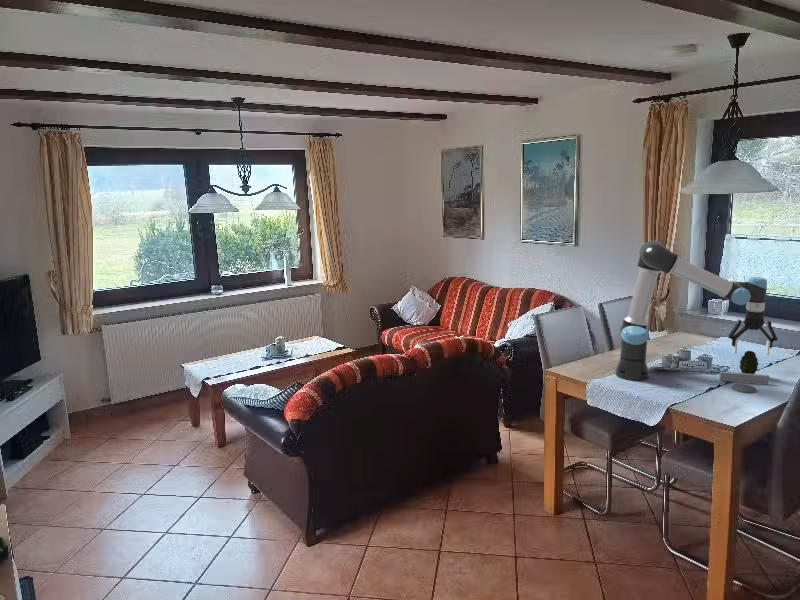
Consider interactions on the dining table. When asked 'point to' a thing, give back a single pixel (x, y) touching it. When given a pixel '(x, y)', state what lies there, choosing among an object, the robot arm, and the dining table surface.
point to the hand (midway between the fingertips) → (750, 353)
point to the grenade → (749, 363)
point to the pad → (744, 388)
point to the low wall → (744, 377)
